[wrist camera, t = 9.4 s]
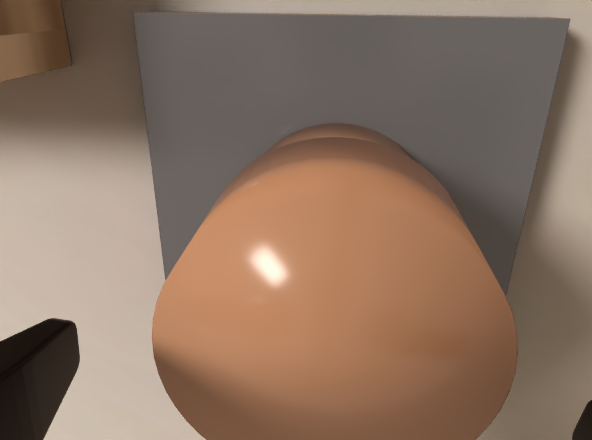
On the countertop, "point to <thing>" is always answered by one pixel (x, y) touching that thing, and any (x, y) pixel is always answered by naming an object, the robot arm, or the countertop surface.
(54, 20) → the open wooden tray
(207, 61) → the slate tile
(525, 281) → the countertop surface
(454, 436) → the peach door knob
